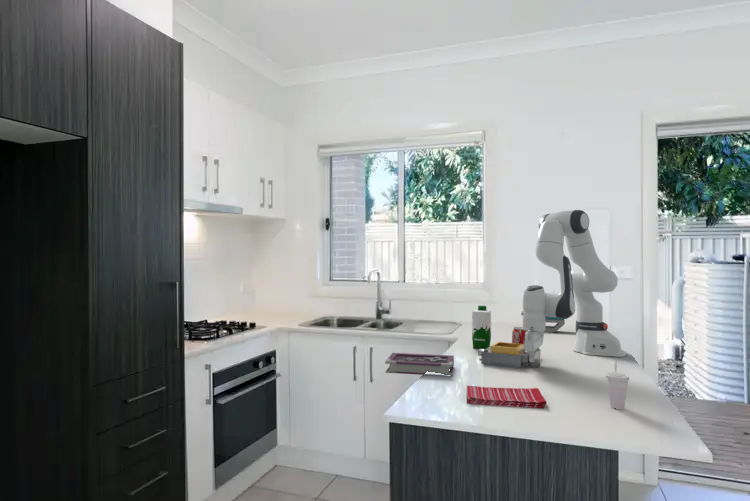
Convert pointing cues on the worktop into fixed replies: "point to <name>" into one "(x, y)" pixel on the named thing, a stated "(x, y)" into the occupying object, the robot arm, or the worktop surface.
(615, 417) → the worktop surface
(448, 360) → the book
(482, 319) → the milk carton
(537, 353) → the spout can
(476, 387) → the dish towel
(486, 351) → the grey gold framed box
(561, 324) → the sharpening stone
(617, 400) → the smoothie
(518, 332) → the soda can
